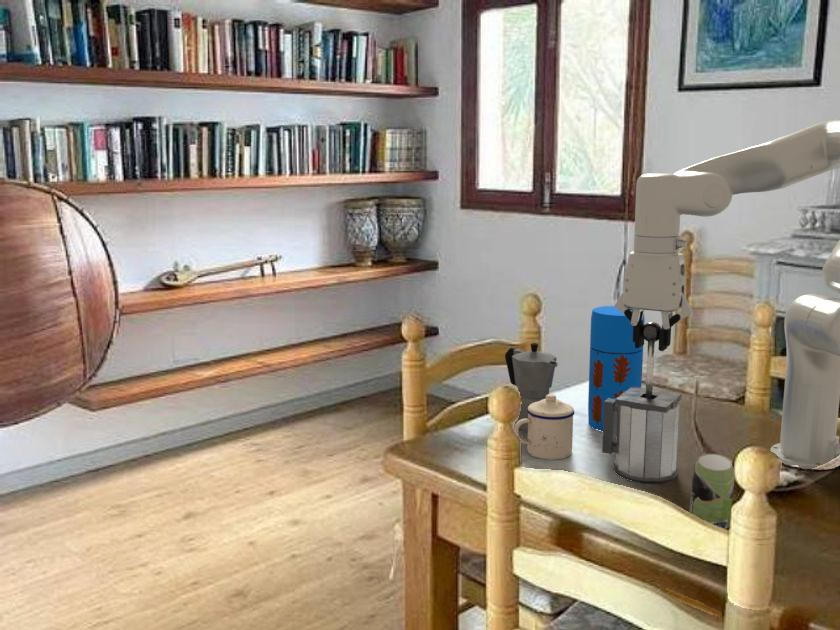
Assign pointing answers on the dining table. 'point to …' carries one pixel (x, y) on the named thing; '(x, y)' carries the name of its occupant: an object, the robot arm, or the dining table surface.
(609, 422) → the press pot
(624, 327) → the thermos
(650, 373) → the plunger
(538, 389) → the coffeepot
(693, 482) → the beverage can
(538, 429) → the teacup with lid
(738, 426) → the dining table surface
